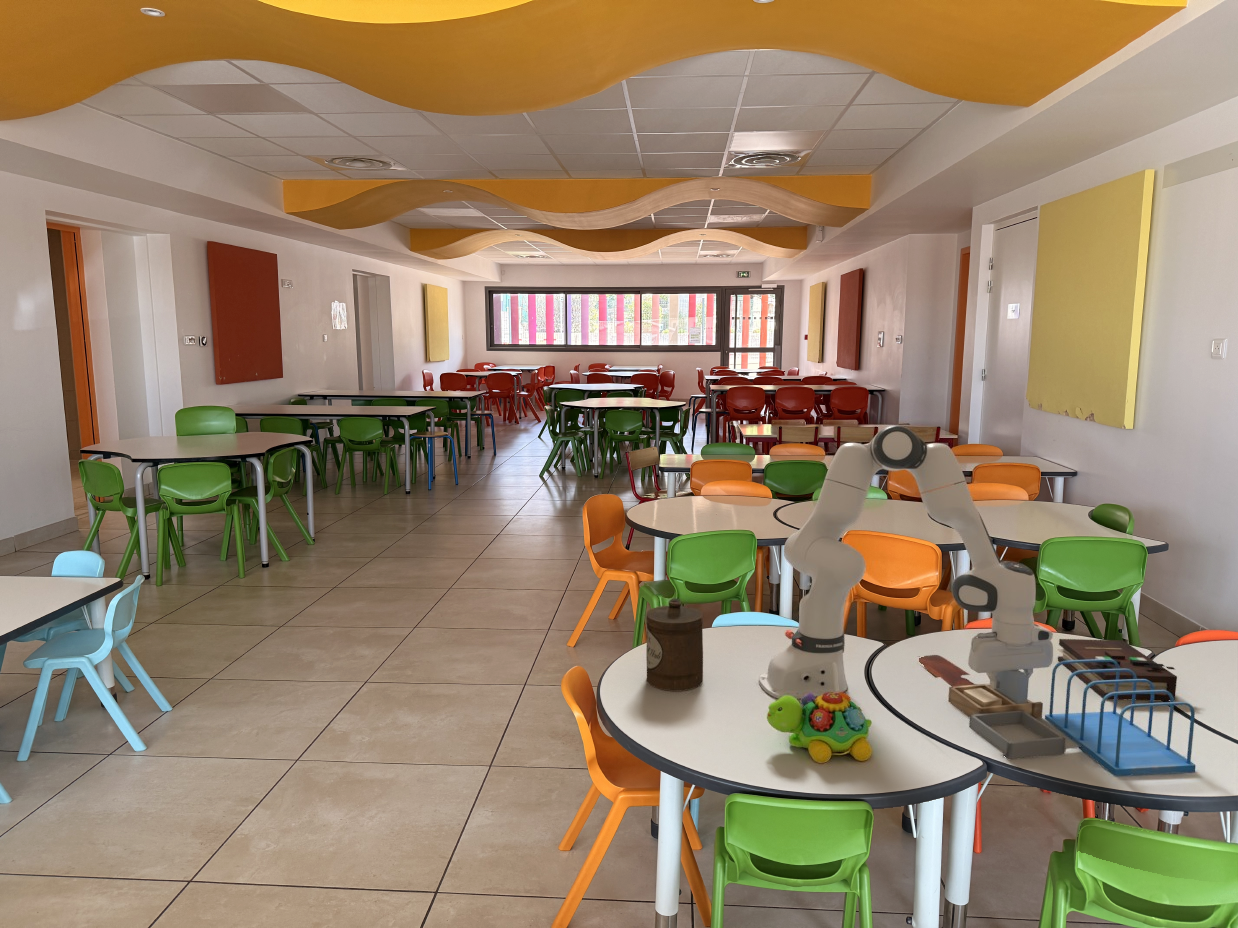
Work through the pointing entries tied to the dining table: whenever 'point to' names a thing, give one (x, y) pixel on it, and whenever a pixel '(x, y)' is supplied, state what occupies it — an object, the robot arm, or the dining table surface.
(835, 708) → the turtle toy
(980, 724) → the tray
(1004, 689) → the grey square block
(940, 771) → the dining table surface
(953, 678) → the wooden tablet
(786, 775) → the dining table surface
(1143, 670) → the decorative book
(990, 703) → the offcut slab upper
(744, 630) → the dining table surface
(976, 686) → the divided wooden box
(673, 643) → the wooden container
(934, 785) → the dining table surface
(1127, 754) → the file sorter
